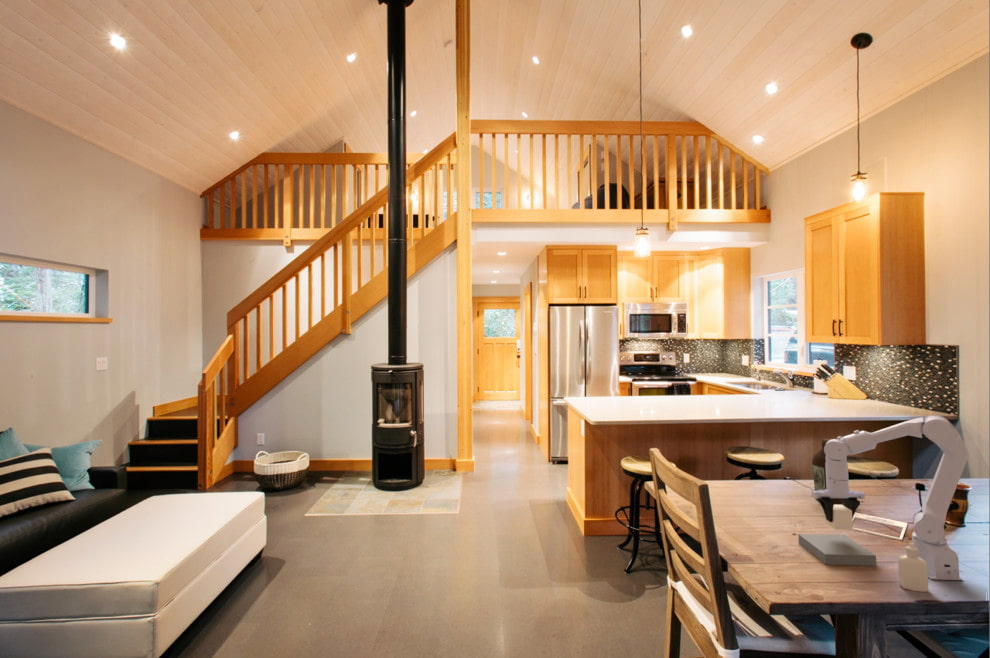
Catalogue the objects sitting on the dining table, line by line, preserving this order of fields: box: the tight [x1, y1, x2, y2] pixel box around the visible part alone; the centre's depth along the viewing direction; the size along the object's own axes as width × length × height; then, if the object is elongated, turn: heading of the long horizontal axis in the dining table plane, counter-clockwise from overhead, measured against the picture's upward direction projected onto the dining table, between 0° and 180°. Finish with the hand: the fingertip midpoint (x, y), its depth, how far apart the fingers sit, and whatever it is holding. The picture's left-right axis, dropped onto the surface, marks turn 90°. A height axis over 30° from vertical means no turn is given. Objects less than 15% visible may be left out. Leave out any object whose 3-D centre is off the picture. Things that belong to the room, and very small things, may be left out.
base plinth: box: [798, 533, 877, 567], centre depth 140 cm, size 14×14×3 cm
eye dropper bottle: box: [897, 542, 929, 593], centre depth 120 cm, size 4×6×12 cm
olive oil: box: [811, 438, 844, 505], centre depth 184 cm, size 11×11×25 cm
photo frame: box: [852, 511, 908, 542], centre depth 159 cm, size 15×1×18 cm
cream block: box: [824, 504, 854, 531], centre depth 143 cm, size 5×5×6 cm
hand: (839, 521), depth 143 cm, fingers closed on cream block, 5 cm apart
